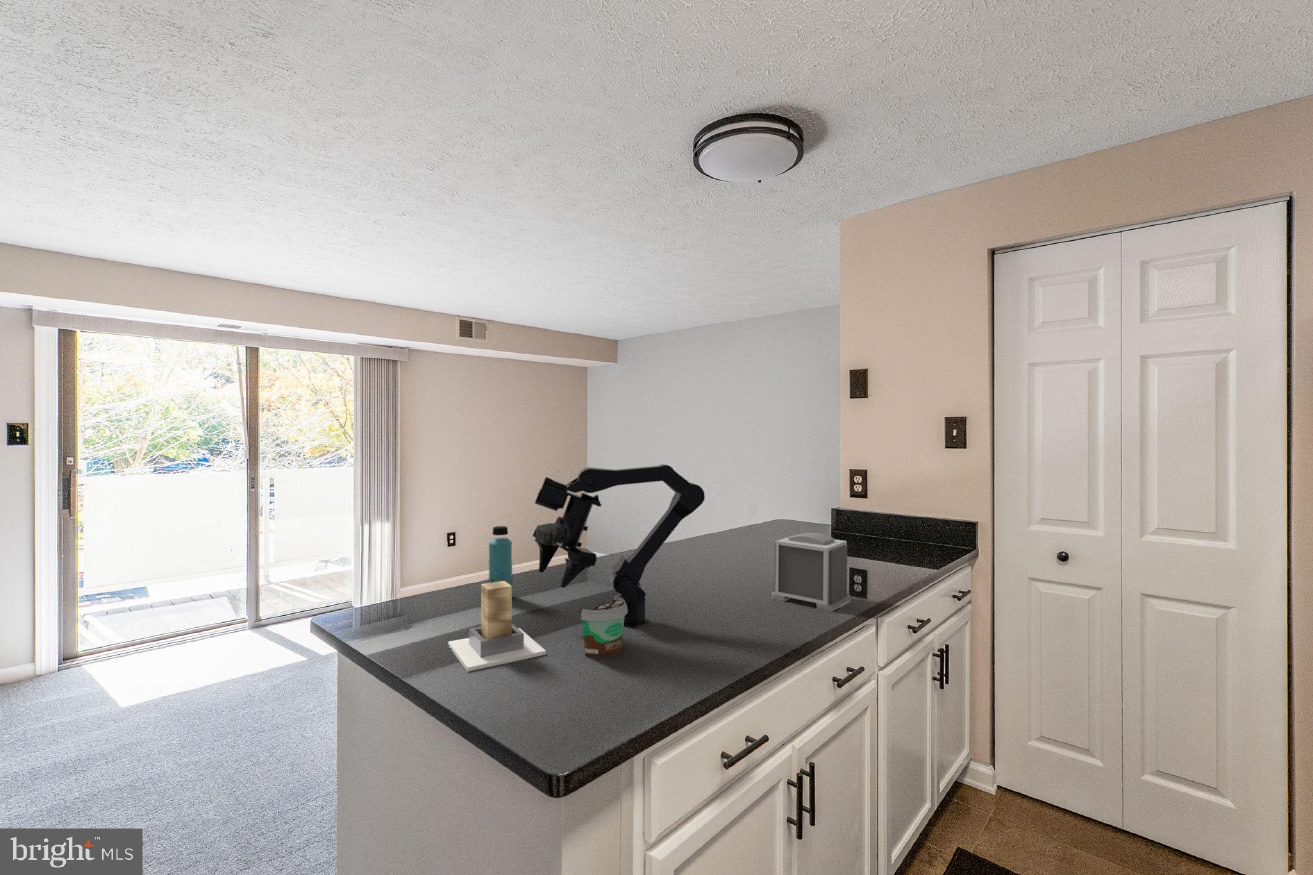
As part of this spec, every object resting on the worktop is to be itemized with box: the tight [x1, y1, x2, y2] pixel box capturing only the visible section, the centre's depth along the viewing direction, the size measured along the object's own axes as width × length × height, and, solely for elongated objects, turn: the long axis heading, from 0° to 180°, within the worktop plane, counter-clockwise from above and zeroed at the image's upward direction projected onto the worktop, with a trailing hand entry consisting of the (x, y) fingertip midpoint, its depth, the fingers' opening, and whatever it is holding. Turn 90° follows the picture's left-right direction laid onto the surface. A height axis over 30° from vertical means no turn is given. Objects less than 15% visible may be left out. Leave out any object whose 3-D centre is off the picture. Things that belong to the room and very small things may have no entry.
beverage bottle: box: [488, 525, 513, 591], centre depth 159 cm, size 6×7×20 cm
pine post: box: [480, 581, 513, 639], centre depth 121 cm, size 5×5×13 cm
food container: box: [580, 595, 628, 658], centre depth 121 cm, size 12×6×10 cm, turn 148°
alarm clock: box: [771, 532, 852, 608], centre depth 159 cm, size 18×13×18 cm
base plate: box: [447, 627, 547, 673], centre depth 121 cm, size 16×16×1 cm
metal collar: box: [468, 623, 524, 658], centre depth 121 cm, size 9×9×3 cm
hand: (551, 579), depth 136 cm, fingers open, 9 cm apart
